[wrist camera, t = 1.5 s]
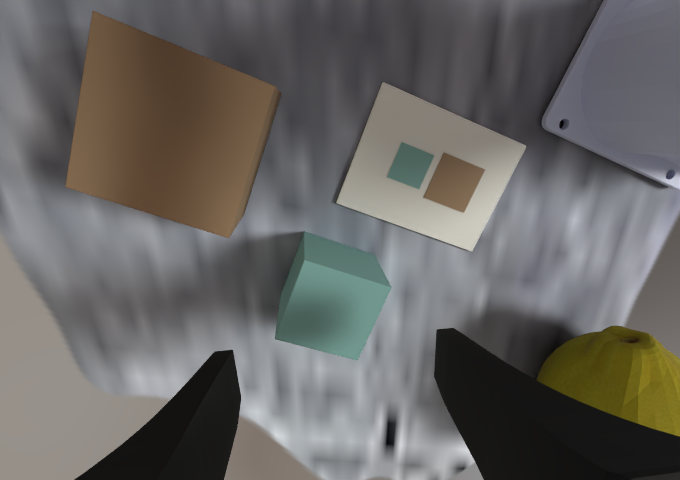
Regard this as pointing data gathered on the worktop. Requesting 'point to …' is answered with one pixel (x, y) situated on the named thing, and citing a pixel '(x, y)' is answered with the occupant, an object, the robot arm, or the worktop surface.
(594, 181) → the worktop surface
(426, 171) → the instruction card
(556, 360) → the lemon
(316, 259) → the teal block
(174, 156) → the walnut block
